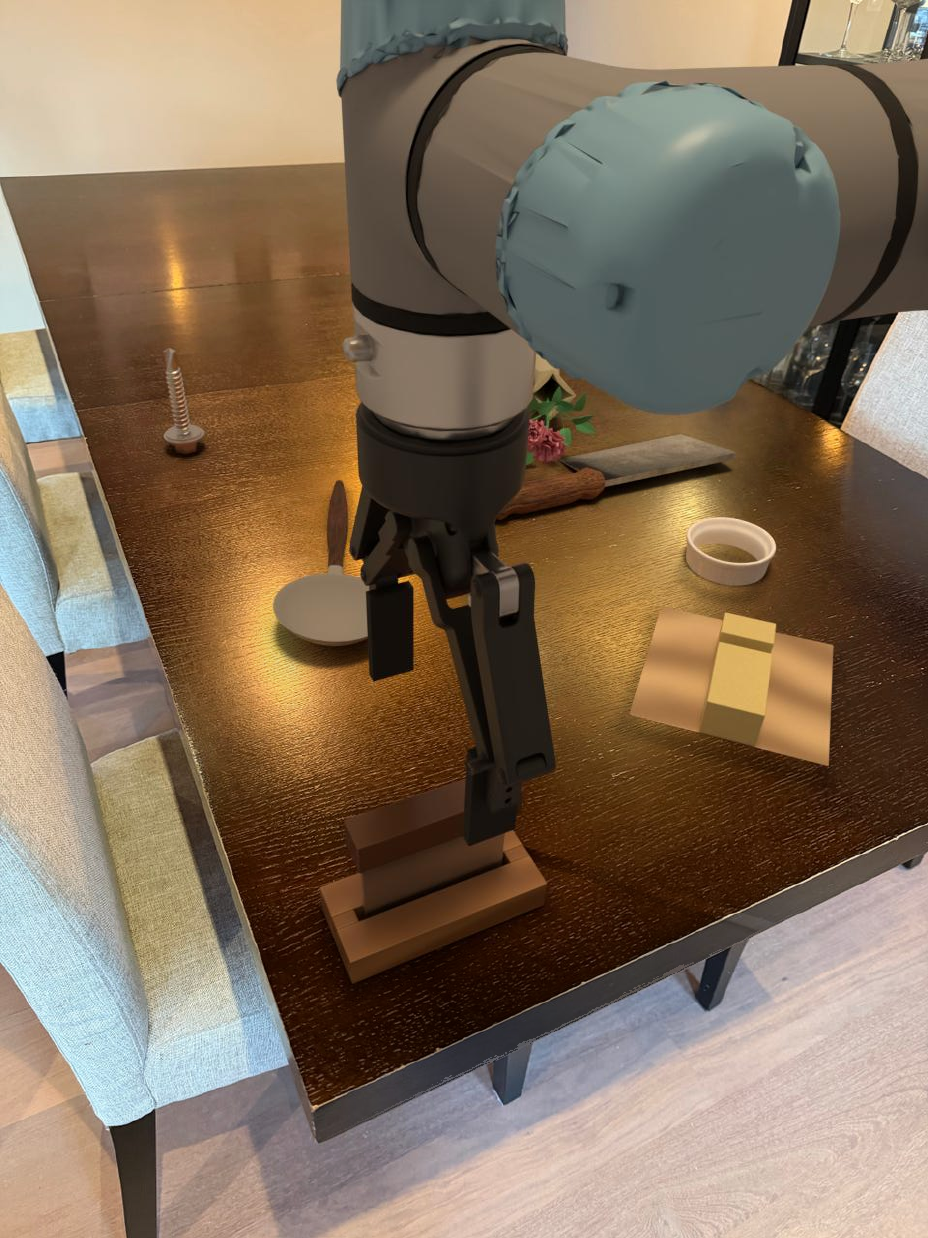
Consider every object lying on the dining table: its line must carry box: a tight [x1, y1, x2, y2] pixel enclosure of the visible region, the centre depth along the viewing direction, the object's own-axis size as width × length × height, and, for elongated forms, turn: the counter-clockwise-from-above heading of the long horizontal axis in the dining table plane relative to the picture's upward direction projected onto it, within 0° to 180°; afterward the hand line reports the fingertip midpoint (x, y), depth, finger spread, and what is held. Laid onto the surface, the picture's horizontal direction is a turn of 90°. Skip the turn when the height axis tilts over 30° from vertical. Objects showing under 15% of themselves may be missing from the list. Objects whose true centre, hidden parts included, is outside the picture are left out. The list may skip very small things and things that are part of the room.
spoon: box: [272, 479, 369, 647], centre depth 92 cm, size 11×33×3 cm, turn 5°
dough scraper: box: [343, 777, 524, 920], centre depth 58 cm, size 2×11×11 cm, turn 115°
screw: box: [163, 347, 206, 455], centre depth 107 cm, size 13×5×5 cm
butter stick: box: [699, 642, 772, 747], centre depth 74 cm, size 8×4×4 cm, turn 161°
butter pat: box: [713, 612, 777, 662], centre depth 80 cm, size 3×4×4 cm, turn 71°
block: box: [319, 830, 548, 985], centre depth 60 cm, size 6×14×2 cm, turn 116°
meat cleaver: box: [496, 433, 736, 521], centre depth 108 cm, size 34×11×4 cm, turn 116°
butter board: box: [629, 606, 834, 767], centre depth 79 cm, size 16×16×2 cm
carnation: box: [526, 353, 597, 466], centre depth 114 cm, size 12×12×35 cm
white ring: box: [685, 516, 777, 587], centre depth 92 cm, size 9×9×4 cm
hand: (435, 745), depth 52 cm, fingers open, 13 cm apart
